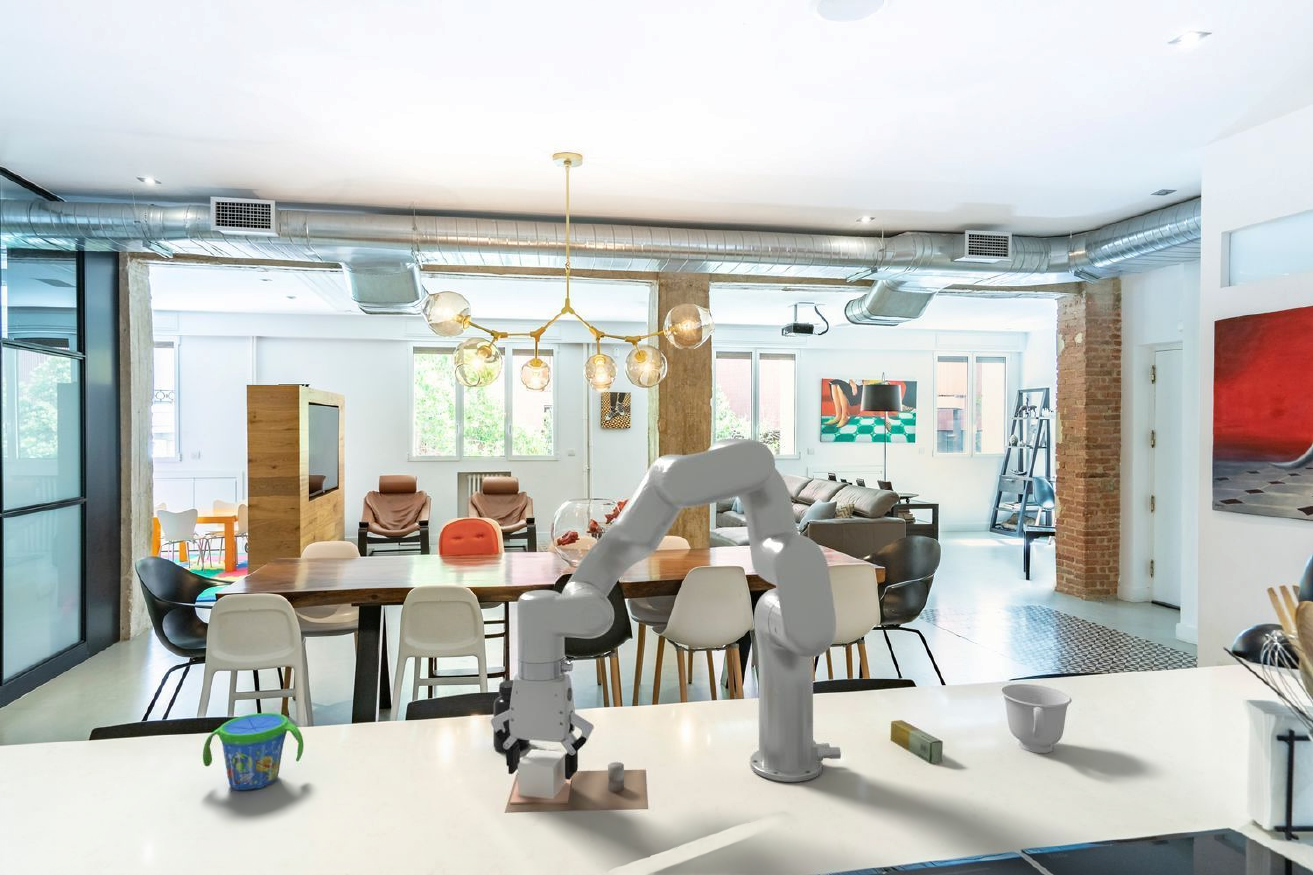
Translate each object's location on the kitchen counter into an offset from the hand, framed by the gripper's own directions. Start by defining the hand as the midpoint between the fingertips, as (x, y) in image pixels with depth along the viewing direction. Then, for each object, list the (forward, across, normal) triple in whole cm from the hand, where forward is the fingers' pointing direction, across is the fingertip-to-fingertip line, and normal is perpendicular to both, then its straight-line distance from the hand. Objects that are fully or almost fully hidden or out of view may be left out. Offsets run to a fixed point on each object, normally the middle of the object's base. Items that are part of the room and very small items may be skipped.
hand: (542, 773), depth 128 cm
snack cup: (+4, +51, +4) cm, 51 cm away
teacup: (+4, -83, -38) cm, 91 cm away
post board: (+4, -6, -2) cm, 7 cm away
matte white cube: (+2, 0, 0) cm, 3 cm away
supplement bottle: (+4, +13, -19) cm, 24 cm away
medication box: (+5, -61, -33) cm, 70 cm away
